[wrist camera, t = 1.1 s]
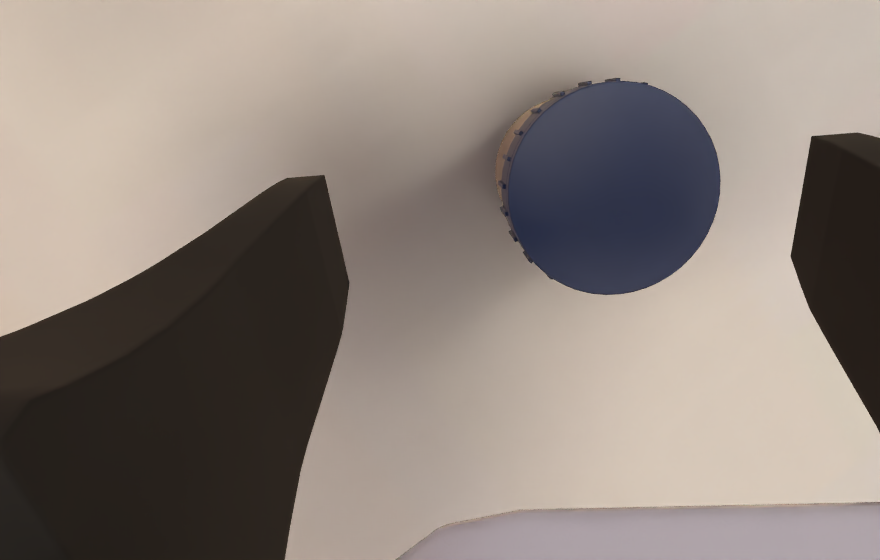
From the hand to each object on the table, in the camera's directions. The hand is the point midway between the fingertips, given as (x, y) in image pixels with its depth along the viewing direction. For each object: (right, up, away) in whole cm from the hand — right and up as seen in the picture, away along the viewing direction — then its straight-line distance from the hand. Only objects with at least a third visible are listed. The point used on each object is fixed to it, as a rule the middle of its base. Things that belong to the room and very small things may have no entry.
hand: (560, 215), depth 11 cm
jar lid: (+2, +1, +7) cm, 7 cm away
